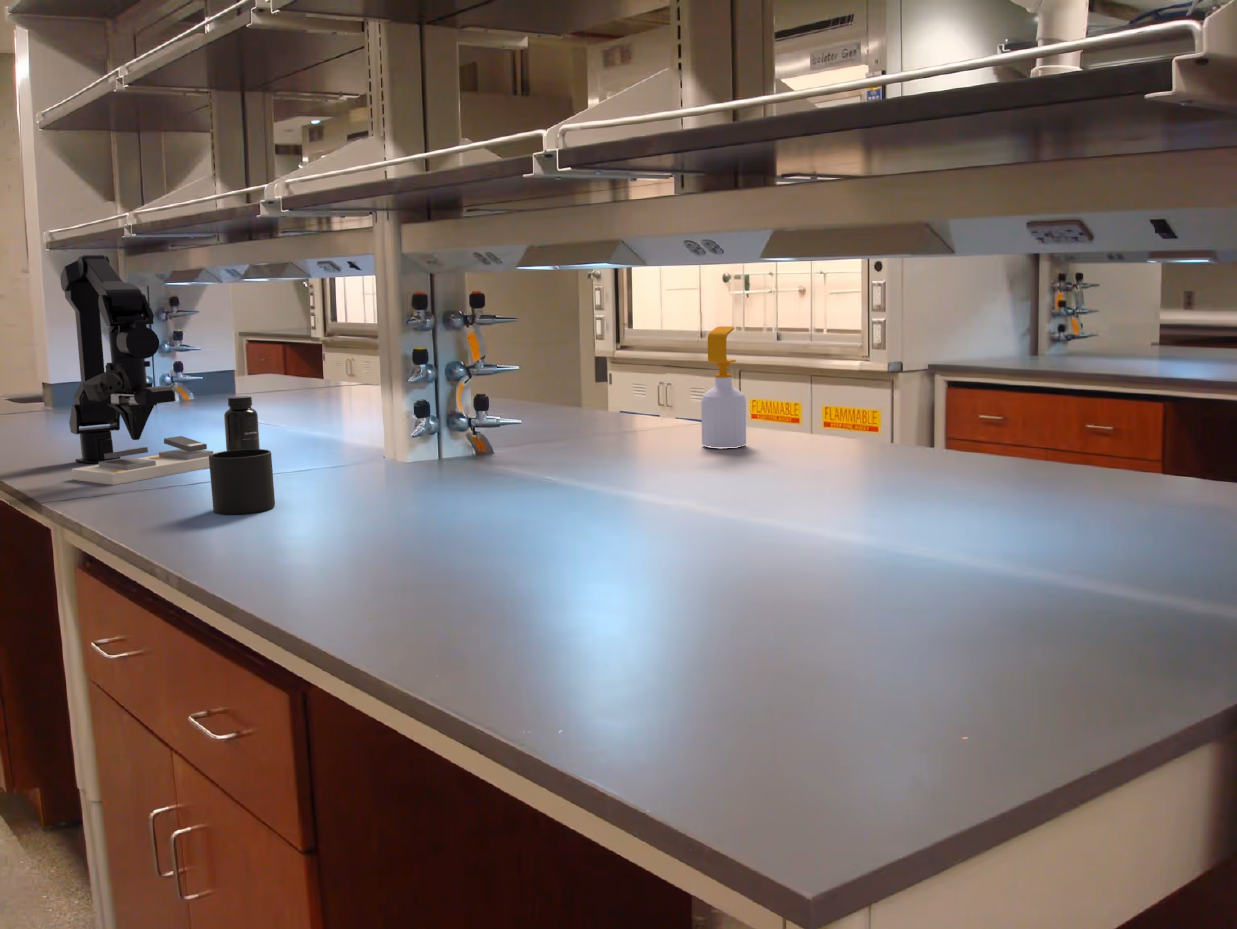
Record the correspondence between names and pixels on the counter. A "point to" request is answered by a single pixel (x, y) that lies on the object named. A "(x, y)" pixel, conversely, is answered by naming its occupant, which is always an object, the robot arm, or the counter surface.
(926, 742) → the counter surface
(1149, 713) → the counter surface
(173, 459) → the switch panel
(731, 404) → the soap bottle
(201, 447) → the rocker
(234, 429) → the supplement bottle
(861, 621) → the counter surface
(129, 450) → the rocker
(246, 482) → the mug
